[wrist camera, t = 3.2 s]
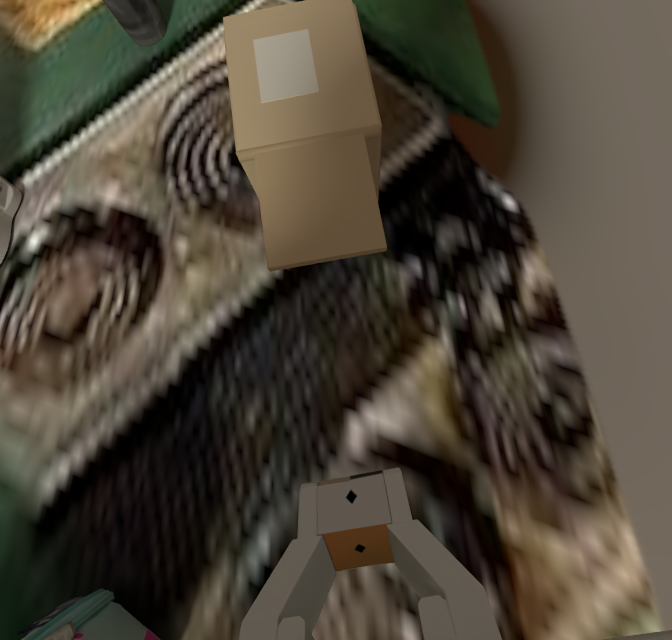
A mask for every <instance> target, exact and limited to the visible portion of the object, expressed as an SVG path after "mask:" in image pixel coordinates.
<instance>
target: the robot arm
mask: <svg viewBox="0 0 672 640" xmlns="http://www.w3.org/2000/svg"><path fill="white" fill-rule="evenodd" d="M21 198H22V195H21V192H20V191H19V190H18V189H17V188H16V187H15V186H13V185H12V184H11V183H10V182H8V181H7V180H6V179H5V178H3V177H2V176H1V175H0V264H1V262H2V260H3V259H4V256H5V254H6V251H7V249H8V245H9V241H10V235H11V224H12V219H13V216H14V214H15V212H16V210H17V208H18V206H19V204H20V201H21ZM387 563H395V564H396V566H397V567H398V568H399V570H400V571H401V572H402V574H403V575H404V576H405V578H406V579H407V580H408V582H409V583H410V584H411V586H412V587H413V588H414V590H415V591H416V592H417V594H418V595H419V597H420V598H421V600H420V602H419V604H418V608H419V614H420V619H421V625H422V630H423V636H424V640H502V638H501V636H500V633H499V630H498V627H497V624H496V621H495V618H494V615H493V613H492V610H491V607H490V604H489V601H488V598H487V595H486V593H485V590H484V587H483V586H482V585H481V584H480V583H479V582H478V581H477V580H476V579H475V578H474V577H473V576H472V575H471V574H470V573H469V572H468V571H467V570H466V569H465V568H464V567H463V566H462V565H461V564H460V563H459V561H458V560H457V559H456V558H455V557H454V556H453V555H452V554H451V553H450V552H449V551H448V550H447V549H446V548H445V547H444V546H443V545H442V544H441V543H440V542H439V541H438V540H437V539H436V538H435V537H434V536H433V535H432V534H431V533H430V532H429V531H428V530H427V529H426V528H425V527H424V526H423V525H422V524H421V523H420V522H419V521H418V520H412V517H411V512H410V508H409V504H408V499H407V495H406V491H405V486H404V482H403V478H402V473H401V470H400V468H394V469H389V470H383V471H382V470H380V471H375V472H370V473H364V474H359V475H354V476H350V477H346V478H339V479H332V480H325V481H318V482H312V483H306V484H301V487H300V495H299V517H298V538H297V539H294V540H292V541H291V543H290V545H289V546H288V548H287V550H286V551H285V553H284V555H283V556H282V558H281V559H280V561H279V563H278V564H277V566H276V568H275V569H274V571H273V572H272V574H271V576H270V577H269V579H268V581H267V582H266V584H265V585H264V587H263V589H262V590H261V592H260V594H259V595H258V597H257V598H256V600H255V602H254V603H253V605H252V607H251V608H250V610H249V611H248V613H247V615H246V616H245V618H244V620H243V621H242V624H241V630H240V637H239V640H314V638H313V636H312V631H313V629H314V627H315V624H316V622H317V619H318V617H319V615H320V612H321V610H322V607H323V605H324V603H325V600H326V598H327V595H328V593H329V591H330V588H331V586H332V583H333V581H334V579H335V576H336V572H337V571H342V570H348V569H353V568H358V567H364V566H371V565H379V564H387ZM604 640H672V630H669V631H661V632H654V633H647V634H640V635H632V636H625V637H618V638H611V639H604Z"/></svg>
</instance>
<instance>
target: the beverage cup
mask: <svg viewBox="0 0 672 640" xmlns="http://www.w3.org/2000/svg"><path fill="white" fill-rule="evenodd" d="M103 1H104V3H105V4H106V5H107V7H108V8H109V9H110V11H111V12H112V13H113V15H114V16H115V18H116V19H117V20H118V22H119V23H120V24H121V26H122V27H123V28H124V30H125V31H126V32H127V33H128V34H129V35H130V37H131V38H132V39H133V41H134V42H135V43H137V44H138V45H142V46H149V45H152V44H155V43H157V42H158V41H160V40H161V39H162V38H163V36H164V35H165V33H166V24H165V22H164V20H163V17H162V14H161V11H160V8H159V6H158V3H157V1H156V0H103Z"/></svg>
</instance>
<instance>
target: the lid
mask: <svg viewBox="0 0 672 640" xmlns="http://www.w3.org/2000/svg"><path fill="white" fill-rule="evenodd" d="M223 20H224V30H225V39H226V49H227V58H228V68H229V77H230V87H231V96H232V106H233V115H234V124H235V134H236V143H237V155H238V159H239V161H240V162H245V161H251V160H255V165H256V174H257V182H258V191H259V199H260V208H261V216H262V225H263V233H264V242H265V250H266V258H267V267H268V269H269V271H275V270H281V269H287V268H292V267H298V266H304V265H309V264H315V263H321V262H326V261H332V260H338V259H343V258H349V257H355V256H360V255H366V254H372V253H377V252H383V251H386V250H387V245H386V240H385V235H384V230H383V226H382V221H381V216H380V211H379V206H378V201H377V196H376V191H375V187H374V182H373V177H372V172H371V167H370V162H369V157H368V152H367V148H366V143H365V139H367V138H372V137H377V136H380V126H379V122H378V118H377V113H376V109H375V104H374V99H373V95H372V90H371V86H370V81H369V76H368V72H367V67H366V63H365V58H364V54H363V49H362V44H361V40H360V35H359V31H358V26H357V22H356V17H355V12H354V8H353V3H352V0H306V1H301V2H296V3H291V4H286V5H281V6H276V7H271V8H267V9H262V10H257V11H252V12H247V13H242V14H237V15H232V16H228V17H223Z"/></svg>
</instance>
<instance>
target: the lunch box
mask: <svg viewBox="0 0 672 640" xmlns="http://www.w3.org/2000/svg"><path fill="white" fill-rule="evenodd" d="M114 598H115V597H114V594H113V592H109V590H104V589H99V590H97V591H95V592H93V593H91V594H89V595H88V596H80V597H76V598H73V599H71V600H69V601H67V602H65V603H63V604H62V605H60V606H58V607H57V608H55V609H54V610H52V611H50V612H49V613H47V614H46V615H44V616H43V617H41V618H40V619H38V620H36V621H35V622H33V623H32V624H30V625H29V626H27V627H26V628H24V629H23V630H21V631H19V632H18V633H17V634H18V635H20V636H24V635H26V634H27V636H25V637H24V638H23V639H21V640H161V639H159V638H158V637H157V636H156V635H155V634H154V633H153V632H151V631H150V630H149V629H147V628H146V627H145V626H143V625H142V624H141V623H140V622H139V621H138V620H137V619H136V618H134V617H133V616H132V615H131V614H130V613H129V612H127V611H126V610H125V609H124V608H123V607H122V606H121V605H120V604H117V603H115V602H113V600H114Z"/></svg>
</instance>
